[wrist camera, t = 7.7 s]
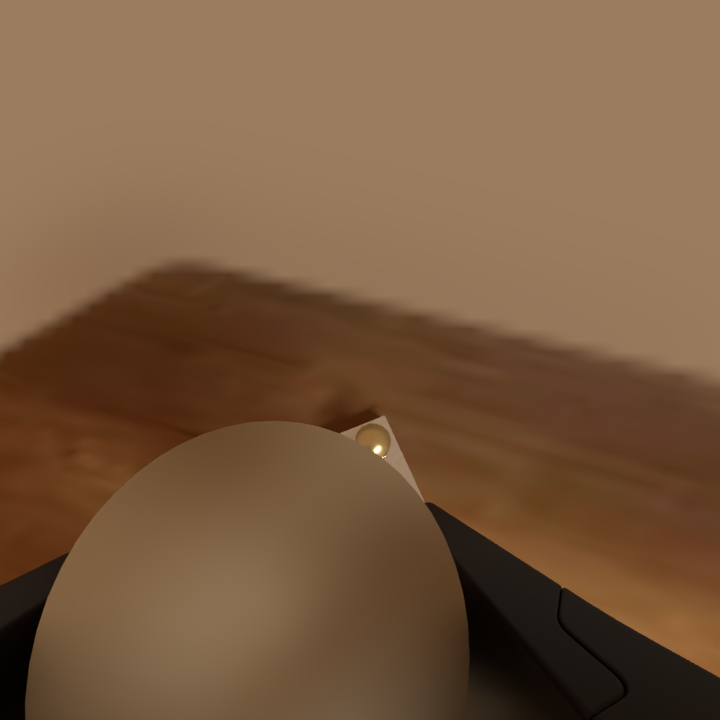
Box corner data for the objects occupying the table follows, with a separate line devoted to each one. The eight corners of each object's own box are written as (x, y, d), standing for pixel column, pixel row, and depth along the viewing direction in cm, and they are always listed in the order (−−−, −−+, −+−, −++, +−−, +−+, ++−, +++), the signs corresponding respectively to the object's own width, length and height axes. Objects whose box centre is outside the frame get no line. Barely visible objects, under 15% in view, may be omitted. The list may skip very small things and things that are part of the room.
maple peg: (340, 708, 12) (327, 1115, 3) (206, 613, 13) (-82, 734, 4) (413, 549, 14) (530, 539, 5) (292, 476, 15) (217, 361, 6)
